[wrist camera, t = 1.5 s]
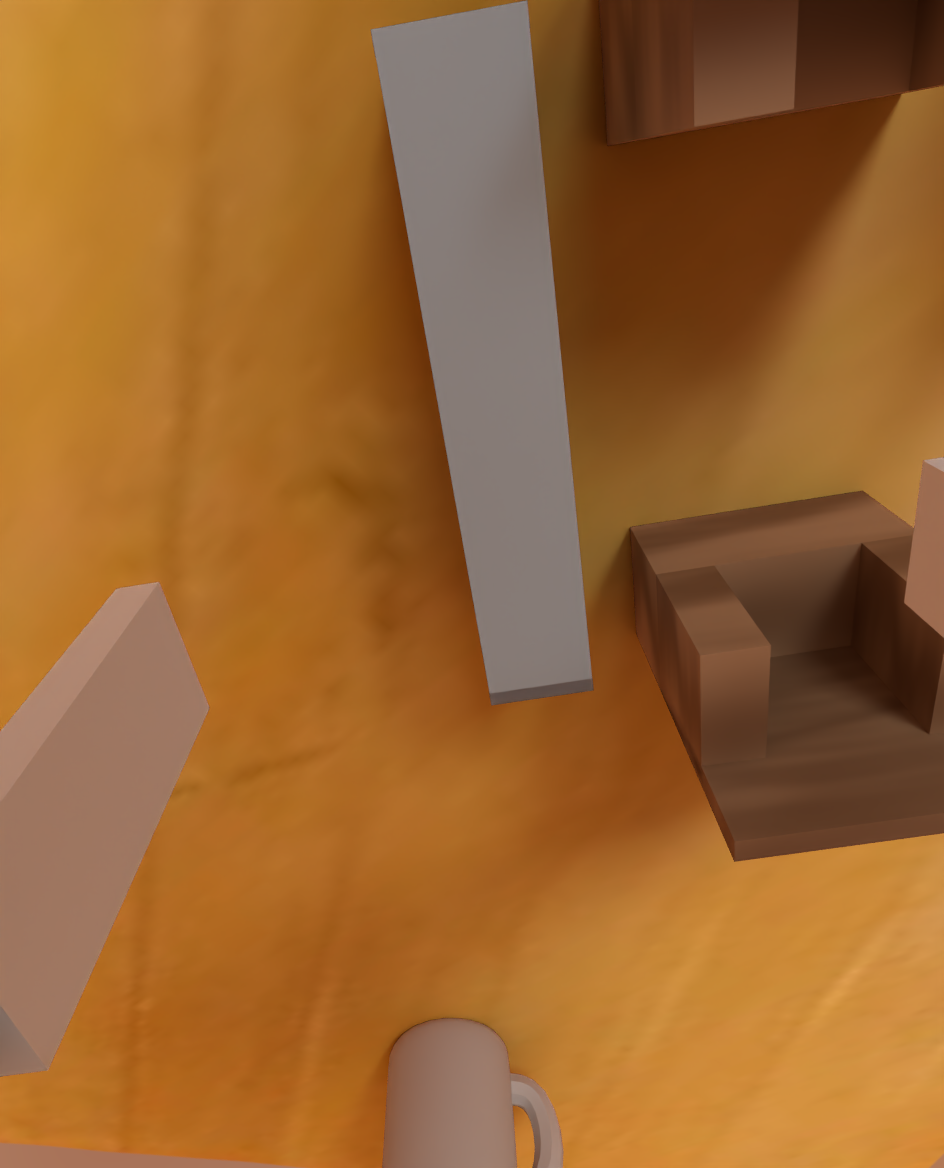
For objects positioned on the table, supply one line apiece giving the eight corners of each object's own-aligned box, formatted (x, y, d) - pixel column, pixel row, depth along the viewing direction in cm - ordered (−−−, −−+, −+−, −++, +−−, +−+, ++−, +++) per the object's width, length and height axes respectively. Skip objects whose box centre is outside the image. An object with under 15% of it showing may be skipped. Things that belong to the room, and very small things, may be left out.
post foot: (630, 526, 29) (736, 722, 19) (862, 490, 29) (1106, 669, 18) (636, 633, 32) (734, 861, 21) (851, 601, 31) (1061, 816, 21)
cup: (396, 1011, 43) (385, 1194, 35) (563, 1021, 44) (590, 1201, 37) (383, 1081, 47) (371, 1263, 39) (540, 1089, 48) (559, 1268, 40)
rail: (387, 66, 22) (370, 29, 17) (506, 44, 22) (527, 0, 16) (482, 615, 31) (491, 705, 26) (567, 602, 31) (593, 690, 25)
